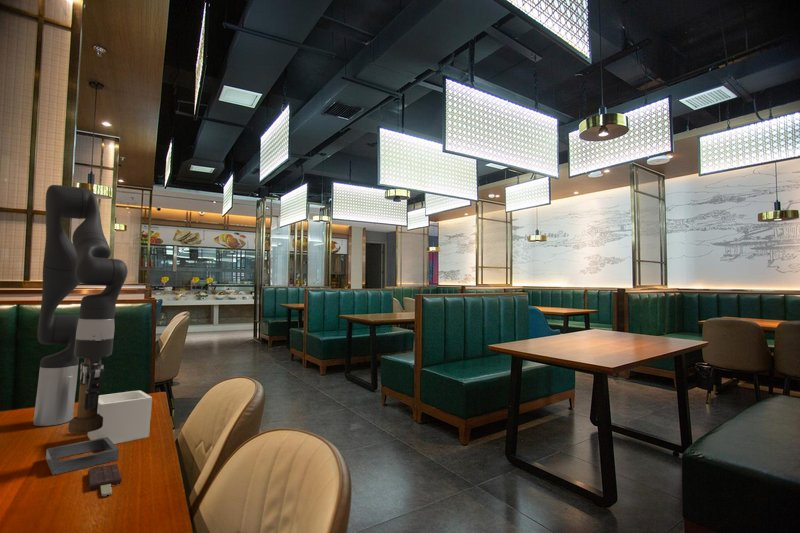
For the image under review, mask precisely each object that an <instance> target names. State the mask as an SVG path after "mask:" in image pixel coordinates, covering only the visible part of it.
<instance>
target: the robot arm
mask: <svg viewBox="0 0 800 533" xmlns="http://www.w3.org/2000/svg"><path fill="white" fill-rule="evenodd" d="M62 219H78V220H83V221H82V222H81V223H80V224H79V225H77V227H76V228H75V230H74V232H72V239H70V238H69V237H68V235H67V233H66V232H65V230H64V228H63V225H62V224H63V223H62ZM101 219H102V218H101V213H100V208H99V204H98V199H97V195H96V194H95V193H94V192H93V191H92V189H90V188H85V187H77V186H69V185H61V184H51V185H49V186H48V188H47V189H46V192H45V243H44V244H45V245H44V252H43V253H44V254H43V263H42V289H41V292H42V293H41V294H42V295H41V303H40V304H41V305H40V309H39V310H40V312H39V318H38V323H37V324H38V325H37V340H38V342H39V344H41V345H67V347H66V348H64V349H63V350H61V351H59V352H56V353H52V354H49V355H47V356H43V357H42V358H41V359H40V361H39V362H40V363H39V373H38V381H37V391H36V397H35V407H34V413H33V414H34V416H33V424H32V425H33V426H36V427H49V426H56V425H57V426H58V425H61V424H65V423H69V421H70V420H72V419H73V418H74V409H75V400H76V391H77V383H78V375H79V374H78V371H79V366H80V375H79V376H80V377H79V384H80V383H83V384H85V385H86V388H85V403H84V409H85V410H90V409H95V408H96V401H97V393H98V392H99V393H100V392H101V390H102V385H103V379H104V373H105V368H104V366H105V365H104V363H102V358H104V357H109V356H111V355H112V354H113V348H114V336H115V330H116V329H115V317H116V316H115V315H116V307H117V305H116V304H117V302H118V298H119V296H120V293H121V290H122V288H123V286H124V284H125V282H126V279H127V277H128V272H129V270H128V266H127V264H126V263H125V262H124V261H123V260H121V259H118V258H111V254H112V253H111V252H112V251H111V248H110V246H109V244H108V241H107V238H106V236H105V234H104V230H103V225H102V220H101ZM80 283H81V284H83V285H87V286H105V288H104V289H103V290H102V291H101V292H100V293H94V294H88V295H85V296H83V297H82V298H81V300H80V307H79V308H80V309H79V314H54V313H55V311H56V309H57V308H58V306H59V305H60V304H61V303H62V301H64V300H65V298H66V297H67V296H68V295H70V294H71V293H72V292H73V291H74V290H75V289H76V288H77V287H78V286H79V285H80ZM86 358H88V364H87V365H86V363H85V359H86ZM80 359H84V361H83V362H81V363H80V362H79V361H80ZM79 363H80V365H79ZM87 379H89V380H87ZM92 384H96V387H91V385H92Z"/></svg>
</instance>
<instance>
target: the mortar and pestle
mask: <svg viewBox="0 0 800 533" xmlns="http://www.w3.org/2000/svg"><path fill="white" fill-rule="evenodd" d="M84 360H85V363H86V365H87V364H88V358H86V359H85V358H84ZM87 380H89V379H87ZM91 387H96V384H92V385H91ZM85 388H86V385H85V384H83V383H80V382H79V391H78V402H77V411H76V415H75V416H73V419H72V420H70V421H69V422H68V428H67V430H68V431H67V432H69V433H71V434H83V433H88V432H91V431H95V430H98V429H100V428H101V427H102V426H103V417H102V416H101V415H100V414H97V409H98V398H99V395H100V392H98V393H97V401H96V408H95V409H90V410H85V409H84V403H85Z"/></svg>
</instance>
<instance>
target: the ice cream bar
mask: <svg viewBox="0 0 800 533" xmlns="http://www.w3.org/2000/svg"><path fill="white" fill-rule="evenodd" d="M87 481H88V482H89V483H88V491H90V492H93V491H92V490H94V491H97V490H96V489H99V490H100V493H101V494H100V495H101V497H108V496H107V495H109V496H111V495H113V487H111V486H112V485H117V484H120V483H121V484H122V478H121V473H120V470H119V465H118V464H115V463H114V464H109V465H96V466H92V467H91V468H89V469H88V473H87ZM121 484H120V485H121ZM117 486H118V485H117ZM110 494H111V495H110Z"/></svg>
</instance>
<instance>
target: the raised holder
mask: <svg viewBox="0 0 800 533" xmlns="http://www.w3.org/2000/svg"><path fill="white" fill-rule="evenodd" d="M122 392H123V391H122ZM152 404H153V397H152V396H151V395H149V394H147V393H146V392H144V391H142V390H131V391H129V392H123V393H119V392H116V393H115V392H114V393H109V394H99V398H98V409H97V414H100V415H101V416H102V417H103V426H102V427H101V428H100V429H98V430H95V431H91V432H87V437H88V439H89V441H90V440H95V439H100V438H105V437H108V438H109V439H110V440H111V441H112V442H113V444H114V445H116V444H120V443H121V444H122V443H126V442H131V441H135V440H140V439H146V438H149V437H150V430H151V429H150V427H151V418H152V417H151V416H152Z"/></svg>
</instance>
